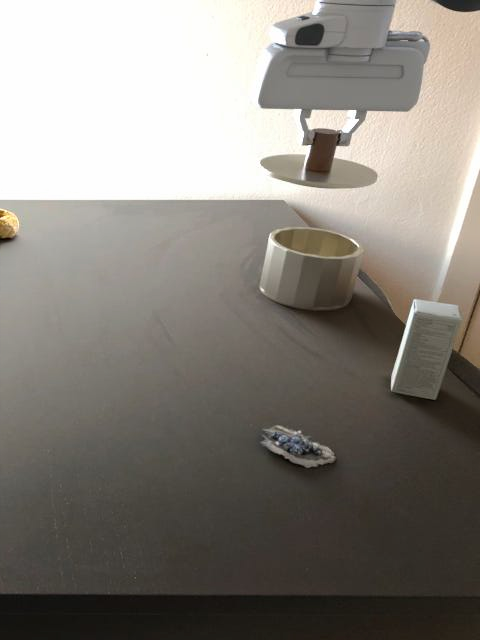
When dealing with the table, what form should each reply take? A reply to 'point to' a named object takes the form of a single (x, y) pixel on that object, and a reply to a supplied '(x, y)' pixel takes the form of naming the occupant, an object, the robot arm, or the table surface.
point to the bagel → (8, 224)
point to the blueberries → (296, 446)
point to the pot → (311, 268)
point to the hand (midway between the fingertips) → (322, 145)
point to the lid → (319, 166)
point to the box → (425, 348)
